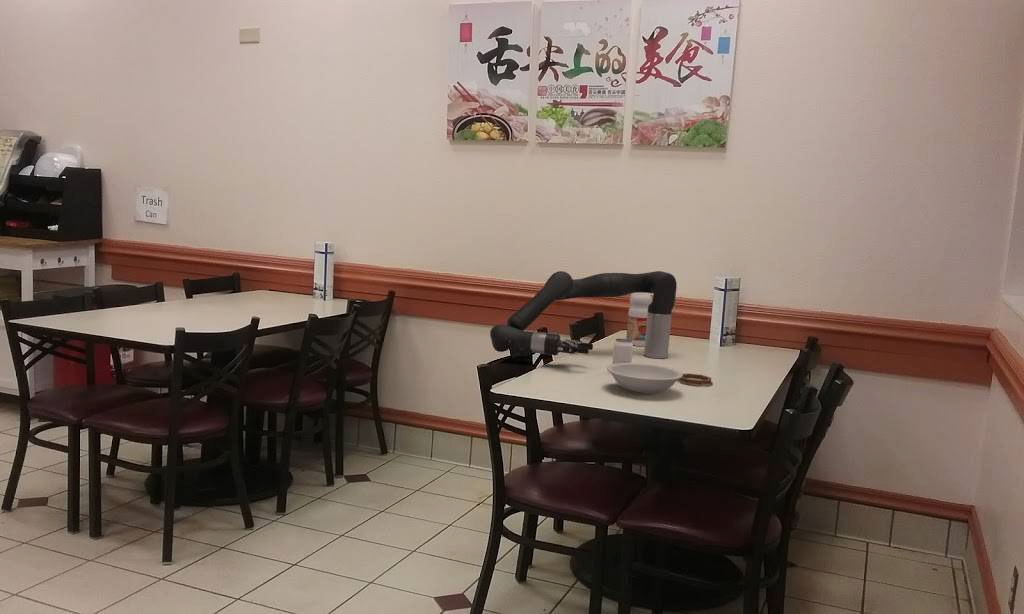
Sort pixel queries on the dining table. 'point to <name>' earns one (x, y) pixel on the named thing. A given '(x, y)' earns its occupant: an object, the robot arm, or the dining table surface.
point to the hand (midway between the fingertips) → (590, 348)
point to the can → (622, 351)
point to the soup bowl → (644, 376)
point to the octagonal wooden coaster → (695, 380)
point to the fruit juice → (638, 318)
